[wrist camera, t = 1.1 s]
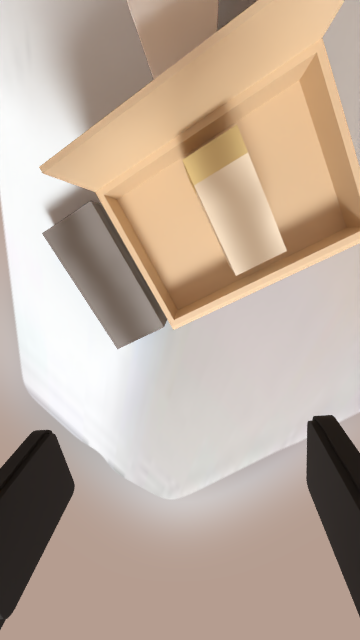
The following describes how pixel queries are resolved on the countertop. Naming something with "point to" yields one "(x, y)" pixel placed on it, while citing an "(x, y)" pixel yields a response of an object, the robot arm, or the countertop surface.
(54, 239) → the block
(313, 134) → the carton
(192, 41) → the milk
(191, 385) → the countertop surface
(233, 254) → the block
